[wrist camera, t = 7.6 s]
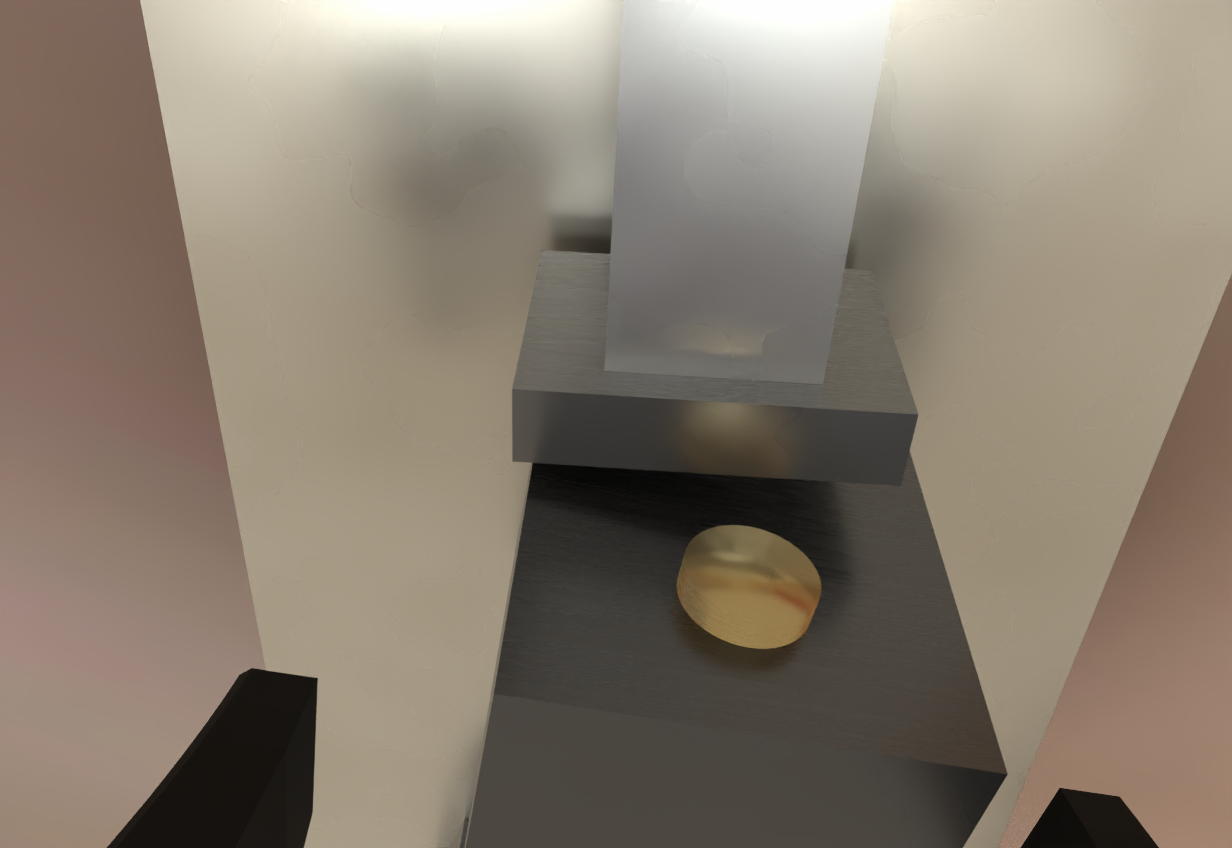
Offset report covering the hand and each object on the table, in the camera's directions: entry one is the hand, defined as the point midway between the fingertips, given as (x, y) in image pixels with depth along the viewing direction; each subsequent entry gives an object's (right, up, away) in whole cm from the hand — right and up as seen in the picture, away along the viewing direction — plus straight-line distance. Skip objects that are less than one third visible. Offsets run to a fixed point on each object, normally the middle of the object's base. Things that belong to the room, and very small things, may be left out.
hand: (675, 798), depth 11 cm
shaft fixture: (0, +3, +5) cm, 6 cm away
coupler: (0, +3, +4) cm, 5 cm away
